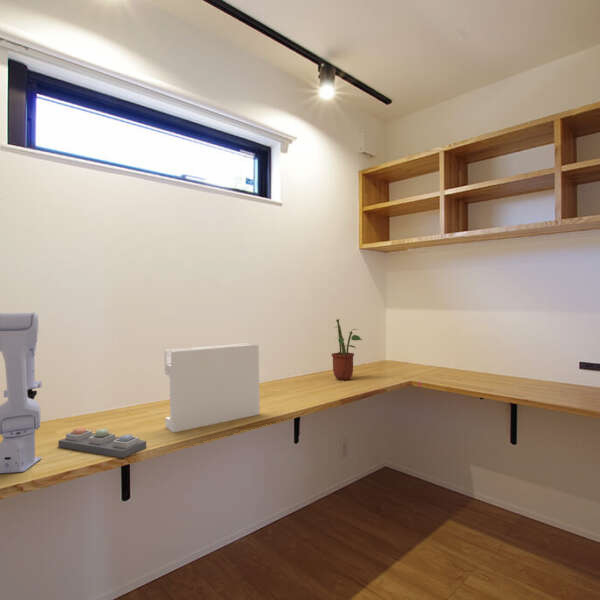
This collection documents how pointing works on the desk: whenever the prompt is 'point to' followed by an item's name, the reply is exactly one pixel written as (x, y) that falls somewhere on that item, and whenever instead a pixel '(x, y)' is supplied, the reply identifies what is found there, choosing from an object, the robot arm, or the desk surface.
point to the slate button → (126, 438)
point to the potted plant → (343, 357)
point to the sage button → (101, 432)
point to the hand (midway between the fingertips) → (23, 415)
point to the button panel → (102, 444)
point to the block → (212, 385)
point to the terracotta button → (78, 431)
